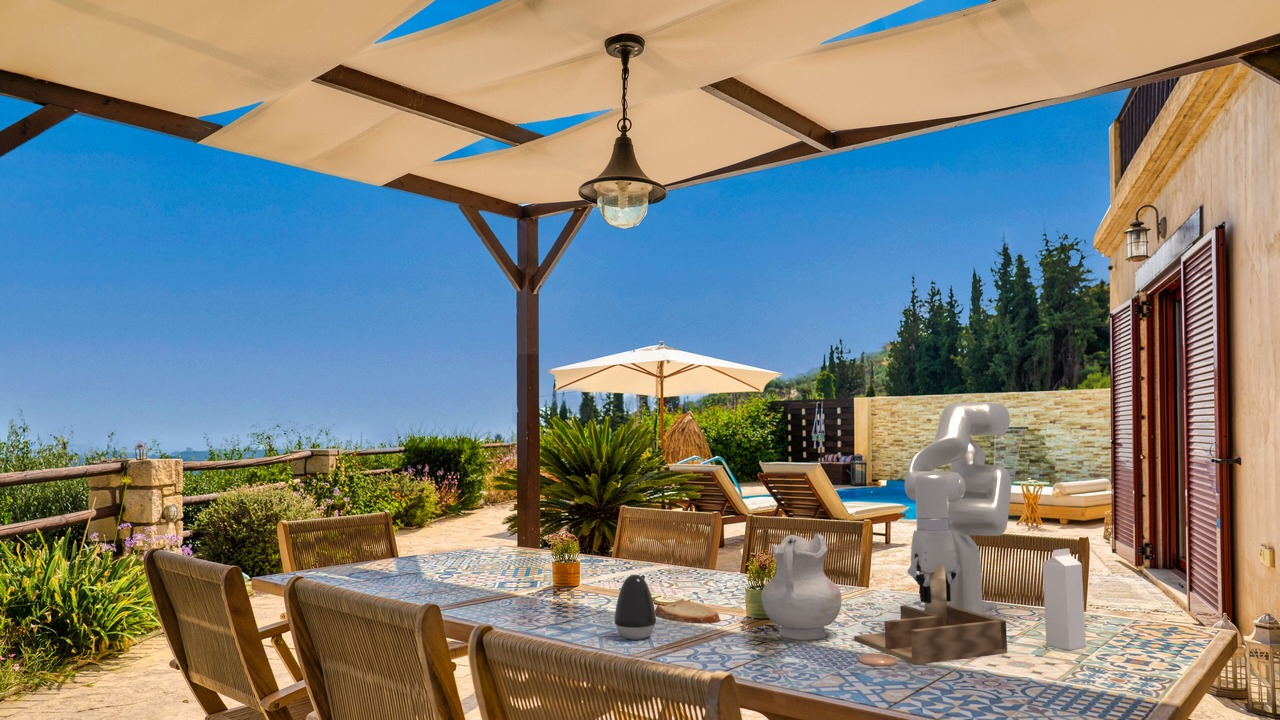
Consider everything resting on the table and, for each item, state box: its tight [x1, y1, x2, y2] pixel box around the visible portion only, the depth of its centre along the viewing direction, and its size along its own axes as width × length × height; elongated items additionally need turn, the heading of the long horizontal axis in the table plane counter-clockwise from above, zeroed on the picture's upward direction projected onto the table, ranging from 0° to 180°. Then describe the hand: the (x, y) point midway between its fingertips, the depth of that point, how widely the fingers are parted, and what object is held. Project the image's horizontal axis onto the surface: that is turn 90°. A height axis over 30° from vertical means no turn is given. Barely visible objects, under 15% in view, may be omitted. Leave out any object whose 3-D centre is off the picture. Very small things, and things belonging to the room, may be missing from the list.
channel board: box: [853, 604, 1008, 665], centre depth 206 cm, size 24×24×7 cm
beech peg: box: [924, 566, 947, 626], centre depth 213 cm, size 5×5×15 cm
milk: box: [1042, 547, 1087, 651], centre depth 205 cm, size 6×6×22 cm
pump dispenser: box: [614, 574, 657, 641], centre depth 219 cm, size 10×10×15 cm
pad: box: [858, 653, 898, 667], centre depth 193 cm, size 8×8×1 cm
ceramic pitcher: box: [760, 532, 842, 641], centre depth 218 cm, size 22×20×25 cm
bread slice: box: [655, 598, 721, 624], centre depth 242 cm, size 18×18×4 cm
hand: (935, 600), depth 213 cm, fingers closed on beech peg, 5 cm apart
